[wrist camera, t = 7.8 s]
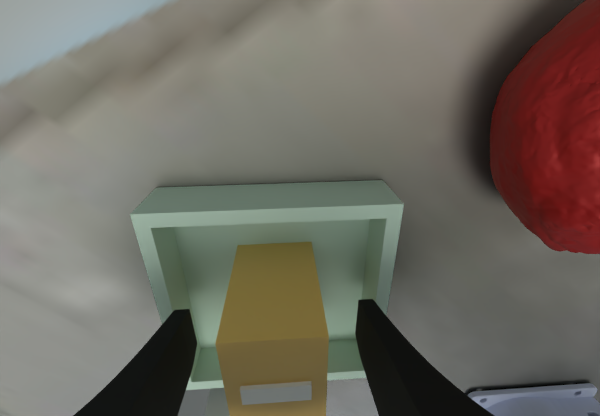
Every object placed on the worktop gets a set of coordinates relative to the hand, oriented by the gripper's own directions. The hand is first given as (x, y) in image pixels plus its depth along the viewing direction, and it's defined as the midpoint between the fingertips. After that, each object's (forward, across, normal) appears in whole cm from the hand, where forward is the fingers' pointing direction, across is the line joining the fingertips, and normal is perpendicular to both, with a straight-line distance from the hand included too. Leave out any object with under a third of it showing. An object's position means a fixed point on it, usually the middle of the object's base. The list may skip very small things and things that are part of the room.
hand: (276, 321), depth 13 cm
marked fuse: (+3, 0, 0) cm, 3 cm away
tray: (+3, 0, 0) cm, 3 cm away
